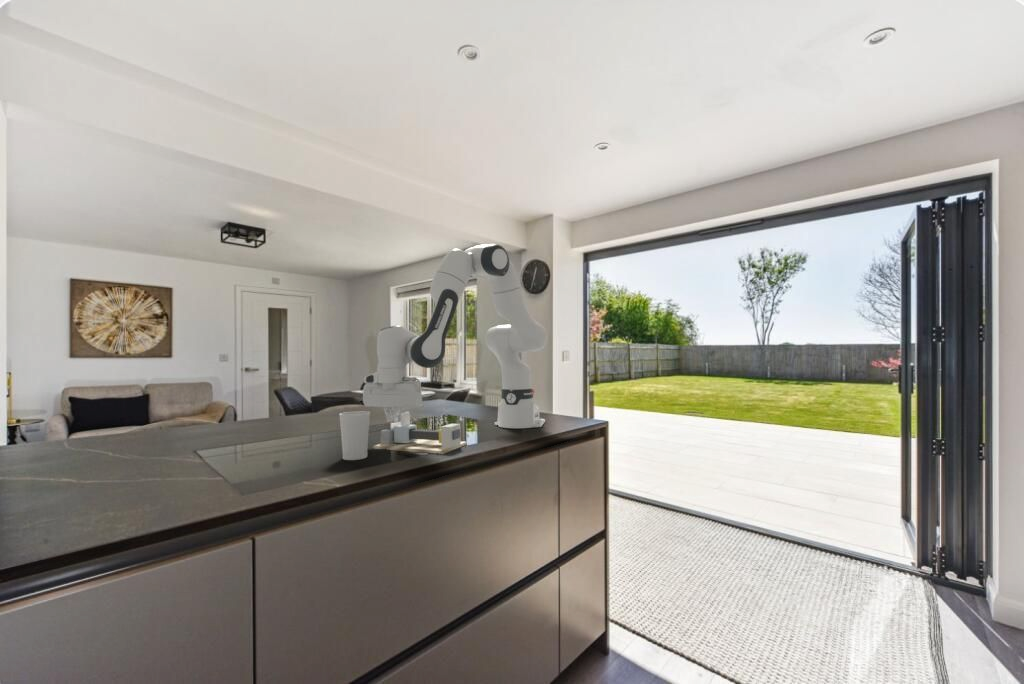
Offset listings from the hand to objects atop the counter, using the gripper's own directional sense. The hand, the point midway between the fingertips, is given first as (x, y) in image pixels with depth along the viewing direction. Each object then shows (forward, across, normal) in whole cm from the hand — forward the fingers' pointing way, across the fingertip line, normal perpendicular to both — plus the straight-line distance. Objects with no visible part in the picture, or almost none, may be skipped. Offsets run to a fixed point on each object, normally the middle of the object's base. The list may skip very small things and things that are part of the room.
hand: (392, 421), depth 139 cm
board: (+7, -10, 0) cm, 13 cm away
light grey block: (+7, 0, 0) cm, 7 cm away
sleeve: (+6, -5, 0) cm, 8 cm away
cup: (+7, -2, +18) cm, 20 cm away
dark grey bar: (+5, -10, 0) cm, 11 cm away
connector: (+7, -21, 0) cm, 22 cm away
